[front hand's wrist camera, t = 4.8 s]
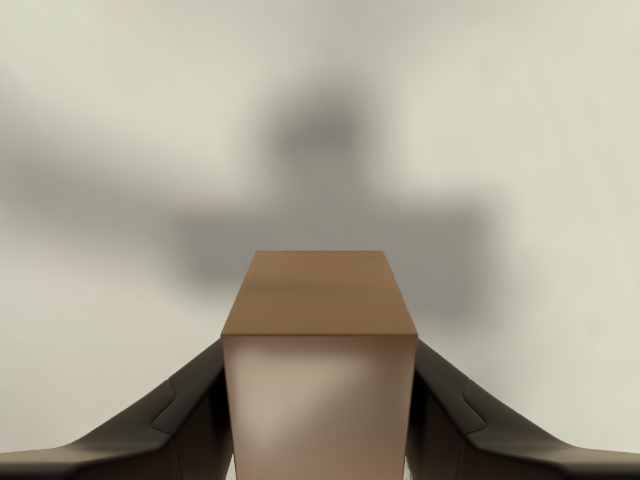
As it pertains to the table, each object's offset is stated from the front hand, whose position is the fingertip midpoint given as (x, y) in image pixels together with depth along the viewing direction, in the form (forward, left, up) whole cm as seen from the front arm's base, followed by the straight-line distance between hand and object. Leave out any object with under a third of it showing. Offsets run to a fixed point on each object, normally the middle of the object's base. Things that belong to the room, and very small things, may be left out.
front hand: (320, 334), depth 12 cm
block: (0, 0, -1) cm, 1 cm away
